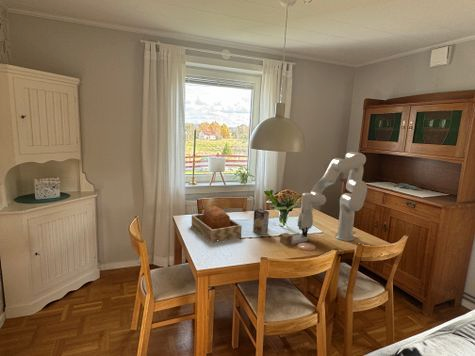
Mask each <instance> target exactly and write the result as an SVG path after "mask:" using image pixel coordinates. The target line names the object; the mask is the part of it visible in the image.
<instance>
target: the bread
mask: <svg viewBox="0 0 475 356" xmlns="http://www.w3.org/2000/svg"><path fill="white" fill-rule="evenodd" d="M202 214H203V223H204V224H206V225H207V226H208V227H210V228H211V229H212V230H214V229H220V228H226V227H231V221H230V219H231V217H230V215H229V214H228V213H227V212H226V211H224V210H223V209H222V208H220V207H218V206H216V205H211V206H207V207H205V208H204V211H203V213H202Z"/></svg>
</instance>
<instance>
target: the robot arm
mask: <svg viewBox="0 0 475 356" xmlns="http://www.w3.org/2000/svg"><path fill="white" fill-rule="evenodd" d="M366 162H367V157H366V155H365V154H363V153H361V152H356V151H348V152H347V153H345V156H344V158H338V157H335V158H333V159H332V160H331V161H330V163H329V165H328V166H327V169H326V171H325V172H324V174H323V176H322V177H321V178H320V179H319V180H318V181H317V182H316V183H315V184H314V185H313V187H312V189H311V191H310V192H303V193H302V194H301V204H300V213H299V215H298V219H297V227H298V230H300V231H301V232H302V233H301V234H302V235H304V236H306V237H308V232H309V230H310V229H311V228H312V227H313V222H314V215H313V205H316V206H323V205H324V204H326V203H327V198H326V196H325V195H324V194H322V193H323V191H324V190H325V189H326V188H327V187H329V186H332V185H334V184H335V183H336V181H337V179H338V178H339V175H340V174H341V173H348V172H349V173H348V178H347V181H346V184H345V189H346V190H347V191H348V192H345V193H343V194H341V196H340V197H339V217H338V224H337V225H338V227H337V233H335V234H334V237H335V238H336V239H338V240H340V241H345V242H352V241H354V240H355V236H354V235H356V233H357V231H356V230H354V221H355V215H356V214H355V212H358V211H359V210H361V209H362V208H363V205H364V204H365V200H366V196H367V193H368V186H367V183H366V182H365V181H363V176H364V165H365V163H366ZM349 192H350V193H349Z"/></svg>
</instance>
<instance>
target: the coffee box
mask: <svg viewBox="0 0 475 356" xmlns="http://www.w3.org/2000/svg"><path fill="white" fill-rule="evenodd" d="M269 215H270V212H269V211H268V210H265V209H262V208H257V209H255V210H254V211H253V225H252V227H253V229H252V231H253V232H254V233H256V234H258V233H259V234H258V235H261V234H262V236H264V235H266V234H268V233H269V231H268V230H269V219H270V218H269ZM263 234H264V235H263Z"/></svg>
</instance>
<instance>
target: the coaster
mask: <svg viewBox="0 0 475 356" xmlns="http://www.w3.org/2000/svg"><path fill="white" fill-rule="evenodd" d="M297 247H298V249H300V250H303V251H311V252H312V251H315V250H316V246H315V244H312V243H310V242H300V243H297Z"/></svg>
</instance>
